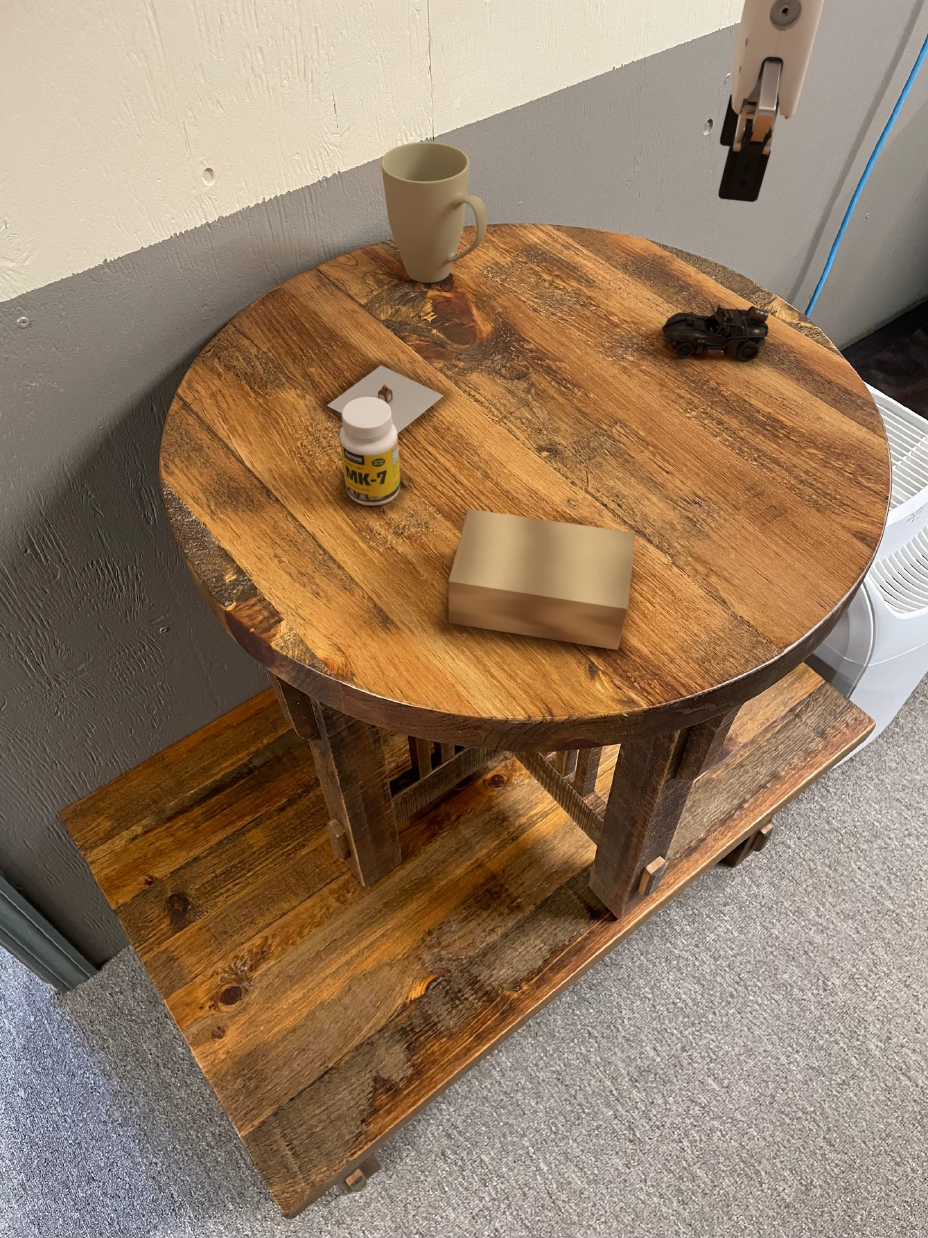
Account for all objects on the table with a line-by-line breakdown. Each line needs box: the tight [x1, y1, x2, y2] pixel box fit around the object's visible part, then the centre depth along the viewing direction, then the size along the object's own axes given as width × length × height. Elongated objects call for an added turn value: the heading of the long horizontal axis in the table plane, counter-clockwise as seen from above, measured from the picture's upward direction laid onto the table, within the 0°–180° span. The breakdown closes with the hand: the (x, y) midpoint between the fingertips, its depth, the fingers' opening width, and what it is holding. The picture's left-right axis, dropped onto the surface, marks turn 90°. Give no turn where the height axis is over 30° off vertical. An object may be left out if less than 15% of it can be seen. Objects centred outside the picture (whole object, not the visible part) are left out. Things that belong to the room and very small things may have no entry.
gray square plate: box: [326, 364, 445, 434], centre depth 82 cm, size 8×8×2 cm
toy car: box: [661, 300, 769, 362], centre depth 87 cm, size 6×12×4 cm, turn 92°
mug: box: [380, 141, 488, 284], centre depth 92 cm, size 11×10×12 cm
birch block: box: [447, 508, 636, 651], centre depth 66 cm, size 13×8×5 cm, turn 79°
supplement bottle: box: [339, 397, 401, 506], centre depth 72 cm, size 5×5×8 cm
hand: (736, 171), depth 75 cm, fingers open, 9 cm apart
